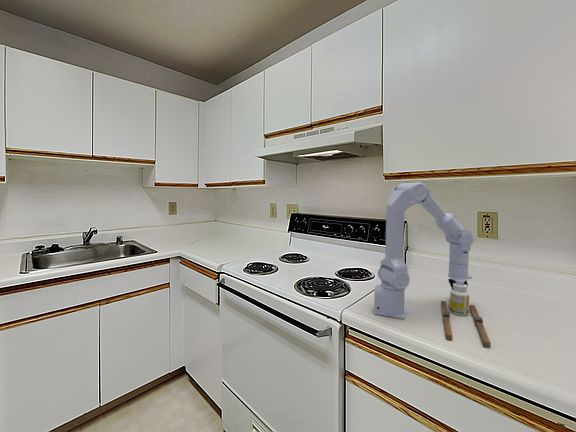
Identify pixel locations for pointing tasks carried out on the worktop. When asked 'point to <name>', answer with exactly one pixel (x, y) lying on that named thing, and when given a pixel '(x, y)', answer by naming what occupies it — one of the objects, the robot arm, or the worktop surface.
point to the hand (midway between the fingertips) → (457, 300)
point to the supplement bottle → (459, 300)
